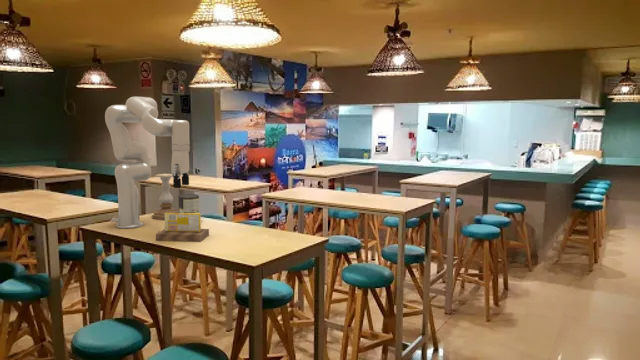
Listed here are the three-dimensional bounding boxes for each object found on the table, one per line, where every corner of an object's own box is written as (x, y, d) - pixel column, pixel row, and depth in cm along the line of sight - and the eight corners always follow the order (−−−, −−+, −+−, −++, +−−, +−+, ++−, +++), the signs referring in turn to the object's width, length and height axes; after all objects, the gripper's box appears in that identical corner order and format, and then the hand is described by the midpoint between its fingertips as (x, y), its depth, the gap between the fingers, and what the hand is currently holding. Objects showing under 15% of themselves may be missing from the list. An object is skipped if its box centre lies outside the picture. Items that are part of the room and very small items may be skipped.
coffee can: (175, 223, 238) (174, 196, 236) (186, 219, 247) (186, 193, 246) (192, 225, 235) (191, 197, 233) (203, 221, 244) (202, 194, 243)
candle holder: (166, 215, 258) (165, 173, 255) (181, 217, 253) (180, 174, 251) (151, 218, 248) (150, 174, 246) (166, 220, 244) (165, 176, 241)
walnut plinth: (155, 240, 202) (155, 233, 202) (166, 234, 214) (166, 227, 214) (200, 241, 201) (200, 235, 201) (208, 235, 213) (208, 229, 213)
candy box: (201, 231, 208) (200, 213, 207) (199, 232, 206) (199, 214, 205) (166, 230, 209) (166, 212, 208) (164, 231, 207) (164, 213, 206)
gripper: (179, 147, 212) (180, 183, 215) (164, 149, 195) (165, 188, 197) (195, 147, 212) (196, 184, 214) (181, 149, 195) (182, 189, 197)
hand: (181, 186), depth 206 cm, fingers open, 9 cm apart
